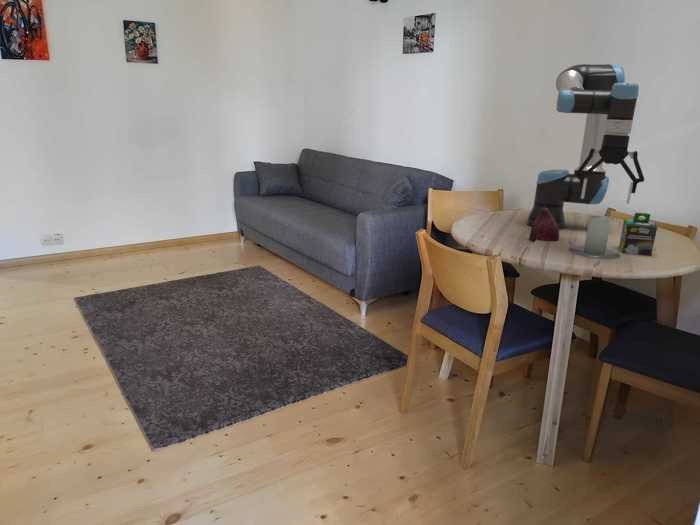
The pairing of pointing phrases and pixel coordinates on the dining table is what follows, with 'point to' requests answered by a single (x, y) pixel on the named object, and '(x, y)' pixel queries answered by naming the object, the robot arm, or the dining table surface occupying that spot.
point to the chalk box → (638, 235)
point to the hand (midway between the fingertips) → (604, 200)
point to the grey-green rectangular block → (597, 235)
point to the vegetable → (544, 227)
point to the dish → (608, 255)
